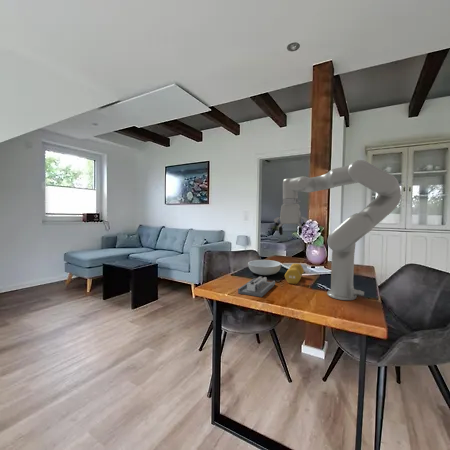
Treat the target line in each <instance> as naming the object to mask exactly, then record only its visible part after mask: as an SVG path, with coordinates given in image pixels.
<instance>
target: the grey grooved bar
mask: <svg viewBox="0 0 450 450" xmlns="http://www.w3.org/2000/svg"><path fill="white" fill-rule="evenodd" d="M248 282H249V281H248ZM248 282H247V283H248ZM267 282H268V279H267V277H266V276H264V277H263V276H258V277H257V278H256V279H255V280H254V281H252V282H249V283H248V284H247V291H249V292H256V291H257V290H258V289H260V288H261V287H262V286H263V285H265V284H266V283H267Z"/></svg>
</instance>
